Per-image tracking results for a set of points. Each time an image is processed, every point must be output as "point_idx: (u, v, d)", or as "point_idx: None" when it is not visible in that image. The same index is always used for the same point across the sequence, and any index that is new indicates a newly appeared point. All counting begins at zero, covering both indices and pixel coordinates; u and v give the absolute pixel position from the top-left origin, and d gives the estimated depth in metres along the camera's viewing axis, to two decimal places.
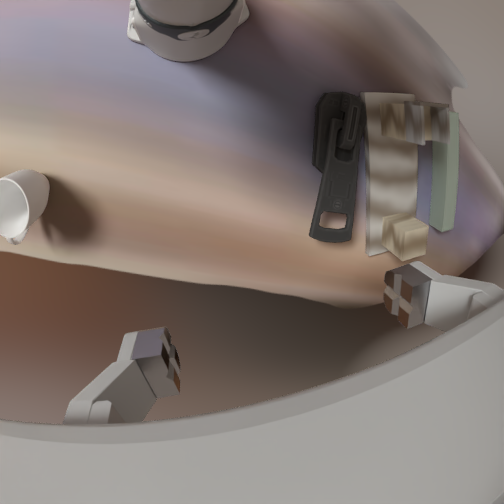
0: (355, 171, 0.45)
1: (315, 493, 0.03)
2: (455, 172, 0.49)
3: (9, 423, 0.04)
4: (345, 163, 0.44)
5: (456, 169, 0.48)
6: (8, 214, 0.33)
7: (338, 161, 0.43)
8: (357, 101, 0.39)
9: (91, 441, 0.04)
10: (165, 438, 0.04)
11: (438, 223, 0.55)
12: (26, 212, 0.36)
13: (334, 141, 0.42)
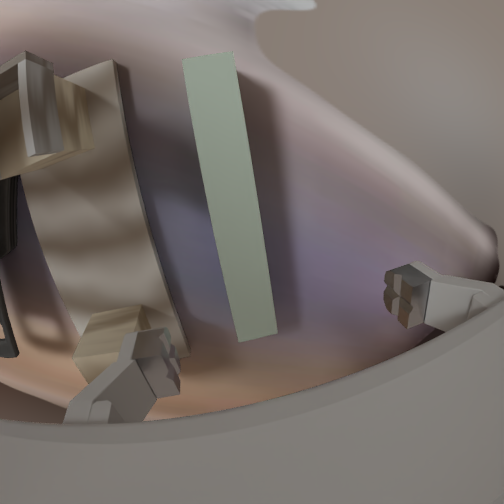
0: None
1: (315, 493, 0.03)
2: (246, 205, 0.24)
3: (9, 424, 0.04)
4: None
5: (248, 197, 0.23)
6: None
7: None
8: None
9: (91, 441, 0.04)
10: (165, 438, 0.04)
11: None
12: None
13: None
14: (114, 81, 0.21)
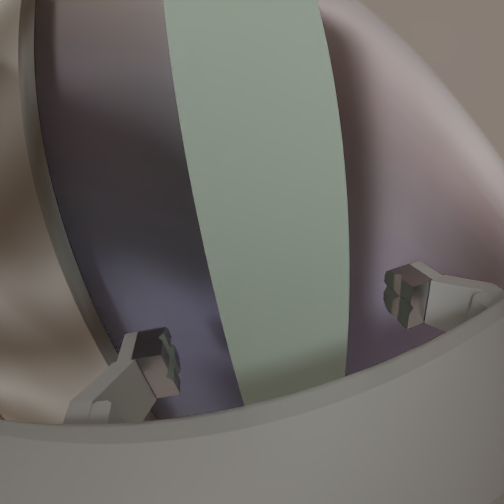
0: None
1: (315, 493, 0.03)
2: (322, 313, 0.09)
3: (9, 424, 0.04)
4: None
5: (328, 293, 0.09)
6: None
7: None
8: None
9: (91, 441, 0.04)
10: (165, 438, 0.04)
11: None
12: None
13: None
14: (17, 21, 0.06)
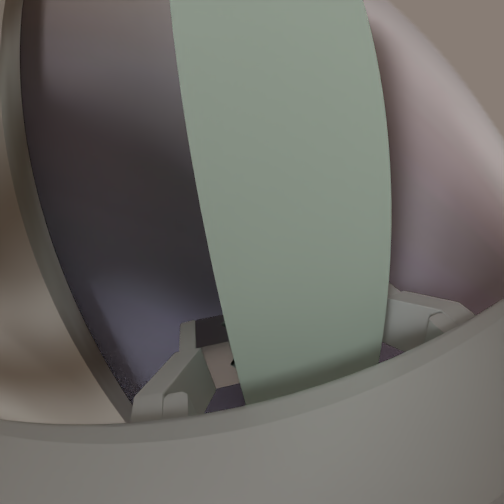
0: None
1: (315, 493, 0.03)
2: (351, 356, 0.07)
3: (9, 424, 0.04)
4: None
5: (360, 336, 0.07)
6: None
7: None
8: None
9: (91, 441, 0.04)
10: (165, 438, 0.04)
11: None
12: None
13: None
14: (2, 14, 0.04)
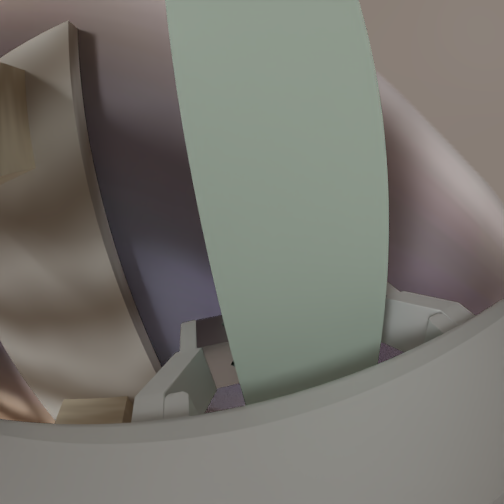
0: None
1: (315, 493, 0.03)
2: (350, 356, 0.07)
3: (9, 424, 0.04)
4: None
5: (359, 336, 0.07)
6: None
7: None
8: None
9: (91, 441, 0.04)
10: (165, 438, 0.04)
11: None
12: None
13: None
14: (67, 54, 0.10)
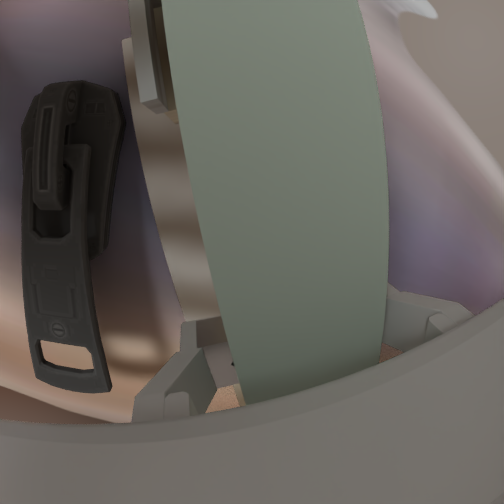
0: (78, 258, 0.18)
1: (315, 493, 0.03)
2: (351, 358, 0.07)
3: (8, 423, 0.04)
4: (53, 244, 0.17)
5: (360, 338, 0.07)
6: None
7: (38, 240, 0.17)
8: (55, 91, 0.14)
9: (91, 441, 0.04)
10: (165, 438, 0.04)
11: None
12: None
13: (27, 199, 0.16)
14: None
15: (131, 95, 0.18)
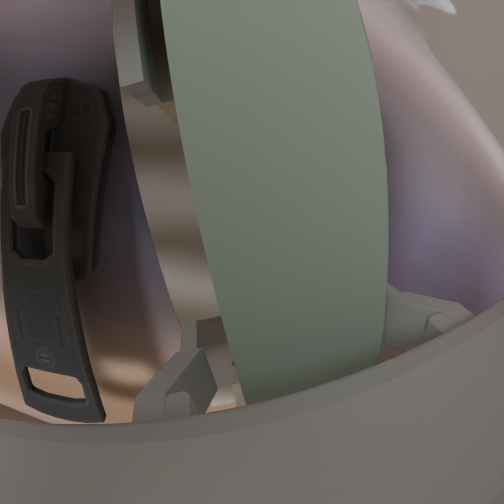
0: (63, 283, 0.15)
1: (315, 493, 0.03)
2: (351, 358, 0.07)
3: (9, 423, 0.04)
4: (35, 267, 0.15)
5: (360, 338, 0.07)
6: None
7: (19, 261, 0.14)
8: (33, 91, 0.11)
9: (91, 441, 0.04)
10: (165, 438, 0.04)
11: None
12: None
13: (6, 214, 0.14)
14: None
15: (122, 88, 0.15)
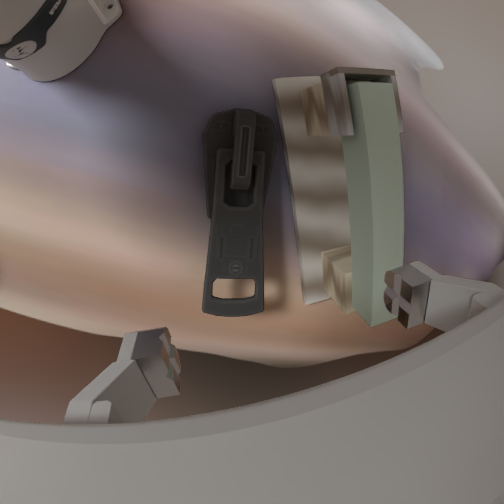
0: (259, 219, 0.34)
1: (315, 493, 0.03)
2: (396, 211, 0.27)
3: (9, 424, 0.04)
4: (241, 210, 0.34)
5: (398, 204, 0.26)
6: None
7: (229, 208, 0.33)
8: (249, 117, 0.30)
9: (91, 441, 0.04)
10: (165, 438, 0.04)
11: (365, 310, 0.32)
12: None
13: (221, 181, 0.32)
14: None
15: (282, 115, 0.33)
